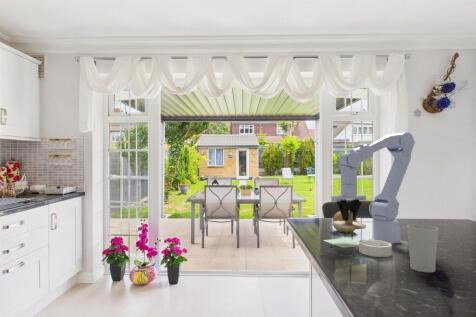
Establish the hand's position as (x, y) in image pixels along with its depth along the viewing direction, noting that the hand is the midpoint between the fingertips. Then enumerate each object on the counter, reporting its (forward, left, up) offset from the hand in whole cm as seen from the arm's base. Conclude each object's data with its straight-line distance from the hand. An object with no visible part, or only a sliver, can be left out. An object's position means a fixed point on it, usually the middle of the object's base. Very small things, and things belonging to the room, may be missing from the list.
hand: (349, 220), depth 119 cm
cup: (-1, +30, -9) cm, 31 cm away
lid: (0, 0, -2) cm, 2 cm away
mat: (0, -2, -9) cm, 9 cm away
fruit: (-13, -18, -9) cm, 24 cm away
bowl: (0, +13, -9) cm, 16 cm away
